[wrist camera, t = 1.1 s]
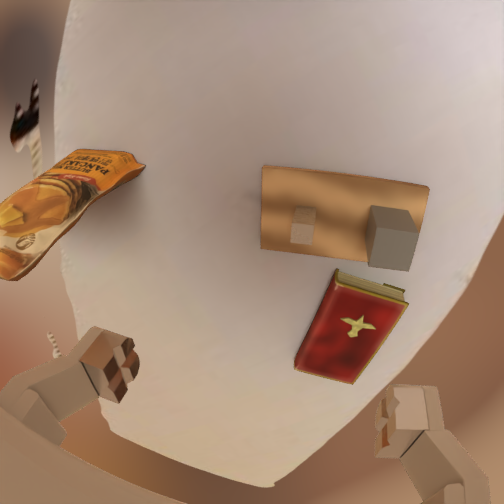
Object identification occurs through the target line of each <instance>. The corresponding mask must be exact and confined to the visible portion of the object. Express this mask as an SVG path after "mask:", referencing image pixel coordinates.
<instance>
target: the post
mask: <svg viewBox="0 0 504 504" xmlns="http://www.w3.org/2000/svg"><path fill="white" fill-rule="evenodd" d="M315 216H316V207H309V206H300V205H297V206H296V210H295V213H294V217H293V220H292V227H291V241H290V243H298V244H306V245H312V241H313V234H314V226H315Z"/></svg>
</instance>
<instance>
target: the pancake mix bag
mask: <svg viewBox="0 0 504 504" xmlns="http://www.w3.org/2000/svg"><path fill="white" fill-rule="evenodd" d="M145 166H146V165H143V164H139V163H137V161H136V159H135V158H134V156H133V154H130V153H127V152H122V151H107V150H91V149H78V150H76V151H74V152H72V153H71V154H69V155H68V156H67V157H65V158H64V159H62V160H61V161H60V162H58V163H57V164H56V165H55V166H53V167H52V168H51V169H49V170H47V171H46V172H44V173H43V174H41V175H40V176H38V177H37V178H36V179H34V180H32V181H31V182H29V183H28V184H26V185H24V186H23V187H21V188H20V189H19V190H17V191H16V192H14V193H13V194H12V195H10V196H9V197H8V198H6V199H5V200H4V201H3V202H2V203H0V279H4V280H7V281H18V280H20V279H21V278H22V277H24V276H25V275H27V274H28V273H29V272H30V271H31V270H32V269H33V268H34V267H36V265H37V264H38V263H39V262H40V260H41V259H42V258H43V257H44V256H45V254H46V253H47V252H48V251H49V249H50V248H51V247H52V246H53V245H54V244H55V243H56V242H57V240H59V239H60V238H61V237H62V236H63V235H65V234H66V233H67V232H68V231H69V230H70V229H71V228H72V227H73V226H74V225H75V224H76V223H77V222H78V220H79V219H80V218H81V216H82V215H83V214H84V212H85V211H86V210H87V208H88V207H89V206H90V205H91V204H92V203H94V202H95V201H96V200H98V199H99V198H101V197H103V196H104V195H106V194H108V193H109V192H111V191H112V190H114V189H115V188H117V187H119V186H121V185H122V184H124V183H126V182H128V181H130V180H132V179H133V178H135V177H137V176H138V175H139V174H140V172H141V171H142V170H143V169H144V167H145Z"/></svg>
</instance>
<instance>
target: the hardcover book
mask: <svg viewBox="0 0 504 504" xmlns="http://www.w3.org/2000/svg"><path fill="white" fill-rule="evenodd" d="M404 292H405V290H404V289H401V288H398V287H395V286H391V285H388V284H385V283H384V284H383V285H381V284H378V283H374V282H371V281H368V280H365V279H361V278H358V277H355V276H352V275H349V274H345V273H342V272H339V269H336V272H335V274H334V276H333V278H332V281H331V283H330V285H329V287H328V290H327V292H326V294H325V296H324V299H323V301H322V303H321V305H320V307H319V309H318V312H317V314H316V316H315V318H314V320H313V322H312V324H311V327H310V329H309V331H308V333H307V335H306V337H305V339H304V341H303V343H302V345H301V347H300V349H299V351H298V353H297V355H296V357H295V360H294V369H295V370H297V371H301V372H304V373H308V374H312V375H316V376H319V377H323V378H327V379H331V380H335V381H339V382H344V383H348V384H352V385H353V384H354V382H355V381H356V380H357V378H358V377H359V376H360V375H361V373H362V372H363V371H364V369H365V368H366V367H367V365H368V364H369V363H370V361H371V360H372V358H373V357H374V356H375V354H376V353H377V351H378V350H379V349H380V347H381V346H382V344H383V343H384V341H385V340H386V339H387V337H388V336H389V334H390V333H391V331H392V330H393V328H394V327H395V325H396V324H397V322H398V321H399V319H400V318H401V316H402V314H403V313H404V311H405V310H406V308H407V307H408V305H409V303H407V302H405V301H404V297H403V293H404Z"/></svg>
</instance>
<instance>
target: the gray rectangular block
mask: <svg viewBox="0 0 504 504" xmlns="http://www.w3.org/2000/svg"><path fill="white" fill-rule="evenodd" d="M418 237H419V232H418V230H417V227H416V225H415V223H414V221H413V219H412V217H411V215H410V213H409V211H408V210H402V209H396V208H389V207H382V206H375V205H371V208H370V214H369V219H368V225H367V230H366V236H365V246H366V252H367V259H368V267H376V268H384V269H392V270H400V271H408V272H409V269H410V265H411V262H412V259H413V255H414V252H415V248H416V244H417V241H418Z"/></svg>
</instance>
